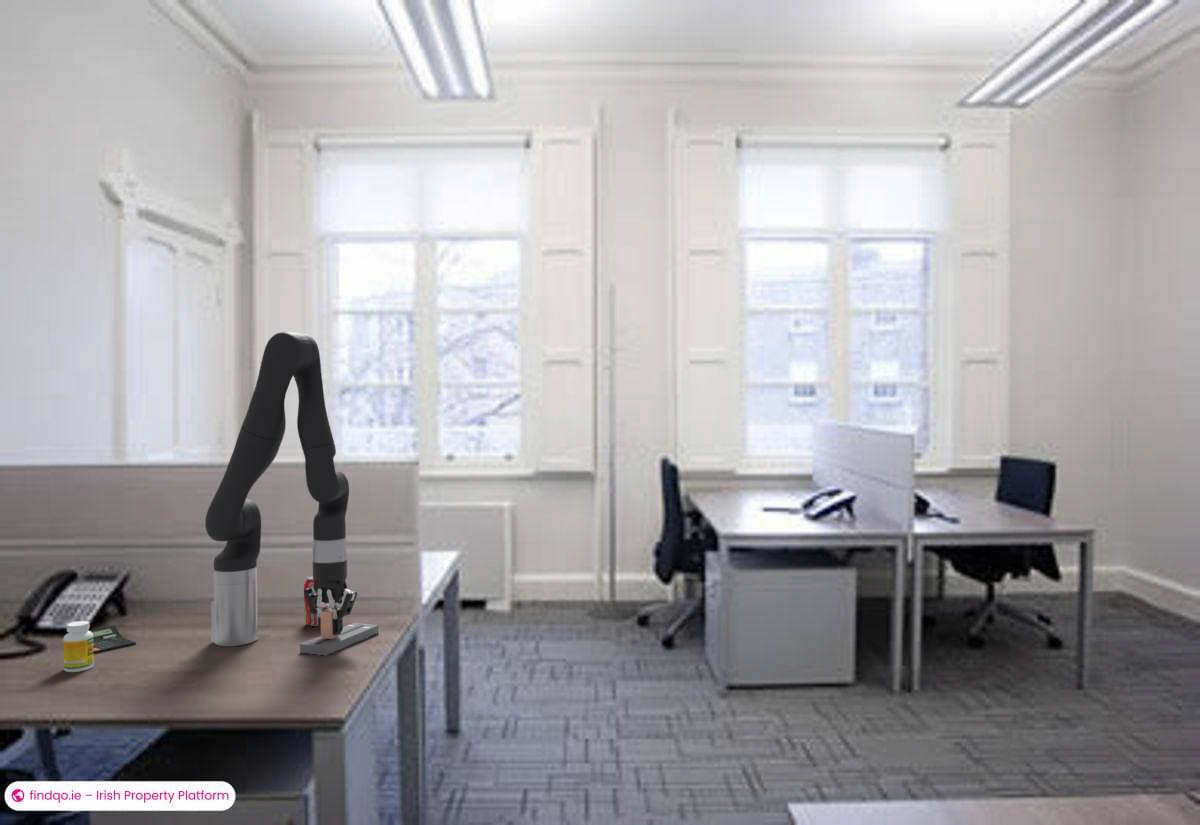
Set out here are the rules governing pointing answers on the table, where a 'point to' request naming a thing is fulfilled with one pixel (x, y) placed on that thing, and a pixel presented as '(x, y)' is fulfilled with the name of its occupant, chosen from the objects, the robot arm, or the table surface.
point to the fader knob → (327, 624)
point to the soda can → (309, 617)
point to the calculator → (108, 640)
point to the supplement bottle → (78, 647)
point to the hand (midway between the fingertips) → (330, 633)
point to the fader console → (339, 639)
